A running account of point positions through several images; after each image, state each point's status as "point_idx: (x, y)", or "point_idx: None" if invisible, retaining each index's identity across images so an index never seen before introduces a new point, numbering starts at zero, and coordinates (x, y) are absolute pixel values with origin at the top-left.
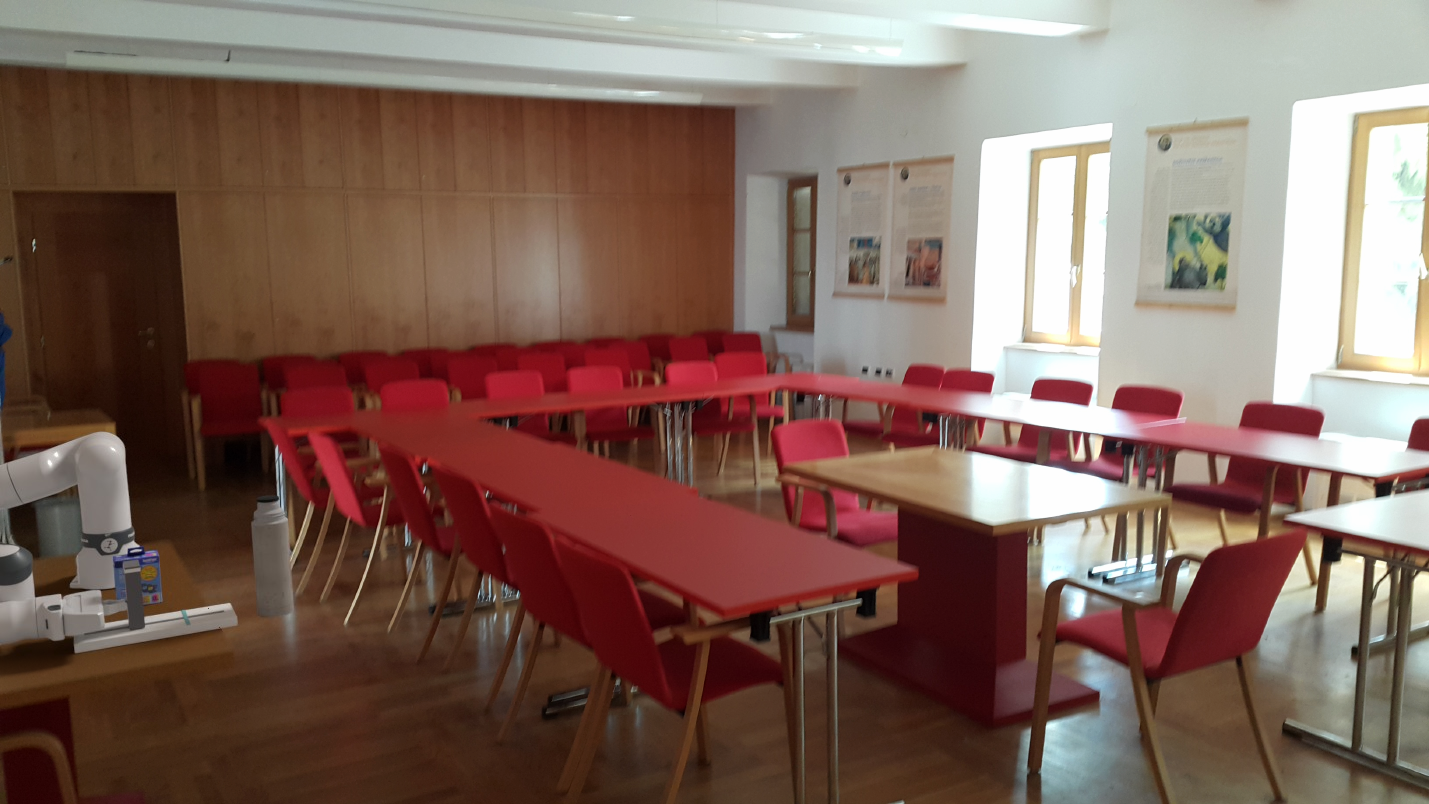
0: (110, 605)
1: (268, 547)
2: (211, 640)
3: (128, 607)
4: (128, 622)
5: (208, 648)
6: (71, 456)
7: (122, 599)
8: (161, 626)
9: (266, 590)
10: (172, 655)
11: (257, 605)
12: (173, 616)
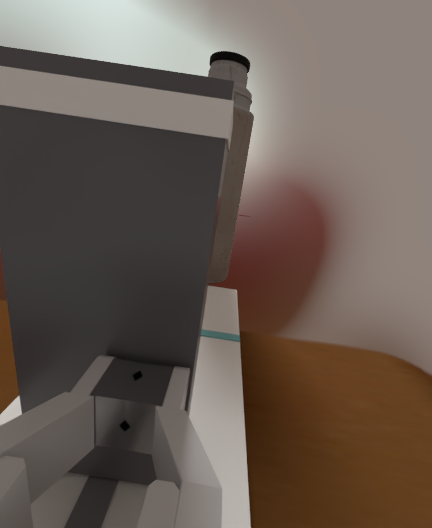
0: (212, 473)
1: (245, 161)
2: (309, 346)
3: (190, 387)
4: None
5: (365, 361)
6: None
7: (92, 365)
8: (205, 382)
9: (229, 238)
10: (421, 431)
11: None
12: None
